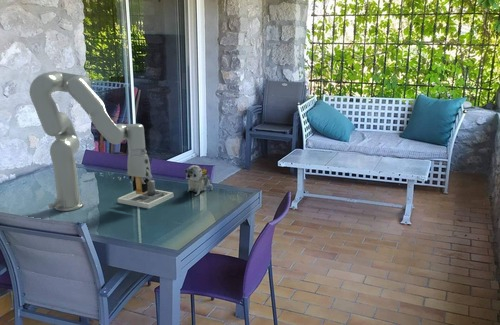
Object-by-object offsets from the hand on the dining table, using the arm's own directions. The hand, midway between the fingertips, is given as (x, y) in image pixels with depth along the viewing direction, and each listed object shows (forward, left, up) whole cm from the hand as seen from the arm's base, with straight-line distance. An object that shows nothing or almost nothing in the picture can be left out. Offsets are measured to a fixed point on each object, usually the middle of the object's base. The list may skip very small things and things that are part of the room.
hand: (140, 190), depth 222 cm
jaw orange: (0, 0, -1) cm, 1 cm away
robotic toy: (+25, -15, -7) cm, 30 cm away
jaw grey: (+8, 0, -6) cm, 9 cm away
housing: (+4, 0, -7) cm, 8 cm away
